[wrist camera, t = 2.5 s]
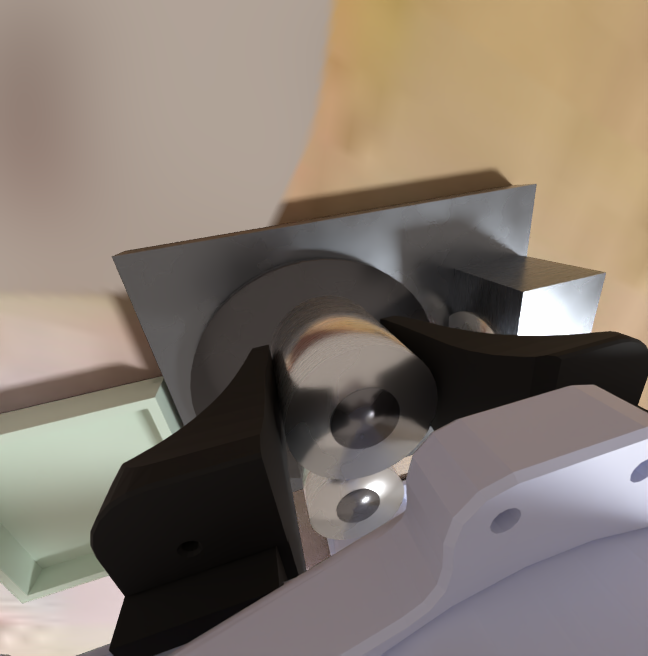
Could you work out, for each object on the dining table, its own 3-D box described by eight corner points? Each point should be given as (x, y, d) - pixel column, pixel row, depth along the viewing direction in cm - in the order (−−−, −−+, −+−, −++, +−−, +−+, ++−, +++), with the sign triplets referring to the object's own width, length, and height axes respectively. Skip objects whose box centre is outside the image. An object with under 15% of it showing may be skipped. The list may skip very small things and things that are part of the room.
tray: (222, 510, 21) (220, 539, 19) (43, 565, 19) (22, 603, 17) (164, 375, 16) (155, 397, 14) (-78, 432, 14) (-123, 464, 13)
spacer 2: (371, 451, 19) (406, 522, 15) (301, 472, 18) (317, 553, 14) (365, 393, 17) (403, 456, 13) (287, 415, 16) (301, 487, 12)
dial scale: (488, 413, 23) (561, 477, 18) (223, 493, 20) (215, 599, 15) (513, 185, 17) (640, 178, 11) (125, 251, 14) (47, 284, 8)
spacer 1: (379, 379, 14) (438, 455, 10) (283, 405, 13) (301, 499, 9) (372, 285, 12) (440, 329, 8) (259, 309, 11) (268, 372, 7)
